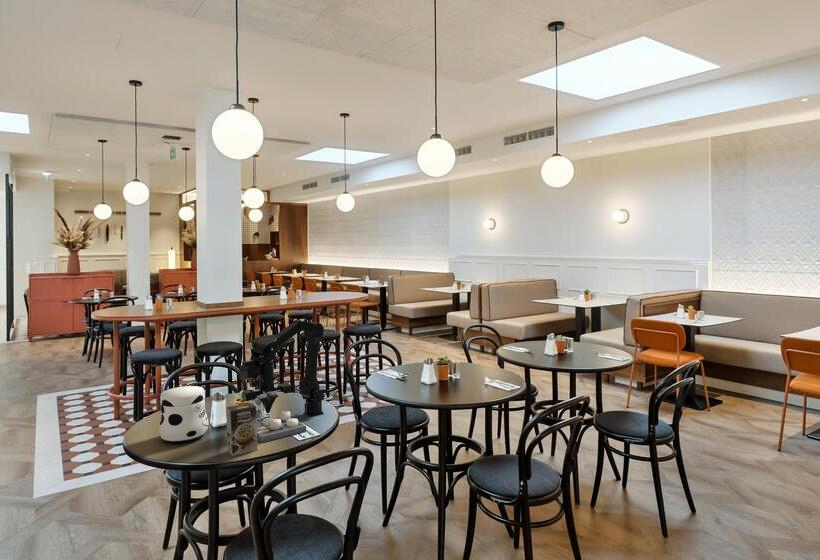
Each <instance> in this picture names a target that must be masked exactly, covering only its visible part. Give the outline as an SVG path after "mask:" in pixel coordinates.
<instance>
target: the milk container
mask: <svg viewBox="0 0 820 560" xmlns="http://www.w3.org/2000/svg"><path fill="white" fill-rule="evenodd" d="M204 389H205V388H203V387H202V386H198V385H196V386H195V385H187V386H185V385H184V386H177V387H174V388H169V389H167V390H163V391H162V392H161V393H160V397H159V399H160V401H159V403H160V421H159V425H158V432H159V435H160V438H161V439H162V440H163V441H165V442H168V443H185V442H190V441H193V440H197V439H199V438H201V437H203V436H204V435H205V434H206V433H207V432H208V428H209V417H208V415H207V411H206V400H205V399H206V398H205V390H204Z"/></svg>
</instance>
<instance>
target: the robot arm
mask: <svg viewBox="0 0 820 560" xmlns="http://www.w3.org/2000/svg"><path fill="white" fill-rule="evenodd" d="M300 332H303V336H304V339H305V341H306V354H305V355H306V356H305V366H304V376H303V378H302V380H299V382H298V388H297V389H298V392H299V394H300V395H301V398H302V399H303V400H305V401H304V402H305V403H304V405H303V406H304V411H303V413H304V414H305V415H306V416H309V417H310V418H311V417H312V418H313V417H315V416H318V415H319V416H320V415H323V414H324V412H323V408H322V407H323V406H322V405H323V403H322V402H323V401H324V400H325V396H326V395H325V394H324V393H323V392H322V391H321V390H320V382H319V380H318V378H317V371H318V361H319V360H318V359H319V346H320V345H319V344H320V343H321V341H322V339H323V337H324V332H325V327H324V325H323V324H322V323H320V322H314V321H308V322H307V321H304V320H303V319H294V320H293V321H292V323H290V324H288V325H287V326H285V327H284V328H283V329H282V330H281V331H279V332H278V333H276V334H275V335H273V337H272V336H271V337H269V338H266V339H263V340H262V341H260V342H258V343H257V344H256V345H255V349H254V351H253V353H252V355H251V357H250V359H249V360H244V361H242V362H241V365H240V366H239V369H238V373H239V376H240V378H241V380H244V381H246V380H249V382H250V387H255V389H258V390H259V391H253V390H252V389H251V390H248V389H245V390H242V392H241V395H240V397H241V399H243V400H244V401H246V402H249V401H251V400H255V398H258V399H259V400H261V402H262V404H263V409H264V411H265V413H266V414H269V413H270V412H271V410H272V407H273V405H274V402H275V401H276V400H277V398H279V395H278V393H279V392H283V394H289V393H292V392H293V390H292V389H293V388H292V386H291V385H290V384H288V383H286V382H285V383H279V384H277V386H276V387H275V380H276V377H275V375H274V374H275V373H274V371H275V369H274V365H275V364H274V363H275V362H279V359H278V358H276V357H275V355H276V354H277V353H278V352H279V350H280V348H281V347H282V346H283V345H284V344H285V343H287V342H288V341H289V340H291V339H292V338H293V337H294V336H295V335H296V334H298V333H300ZM256 378H257V380H256ZM262 392H263V393H262Z"/></svg>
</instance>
